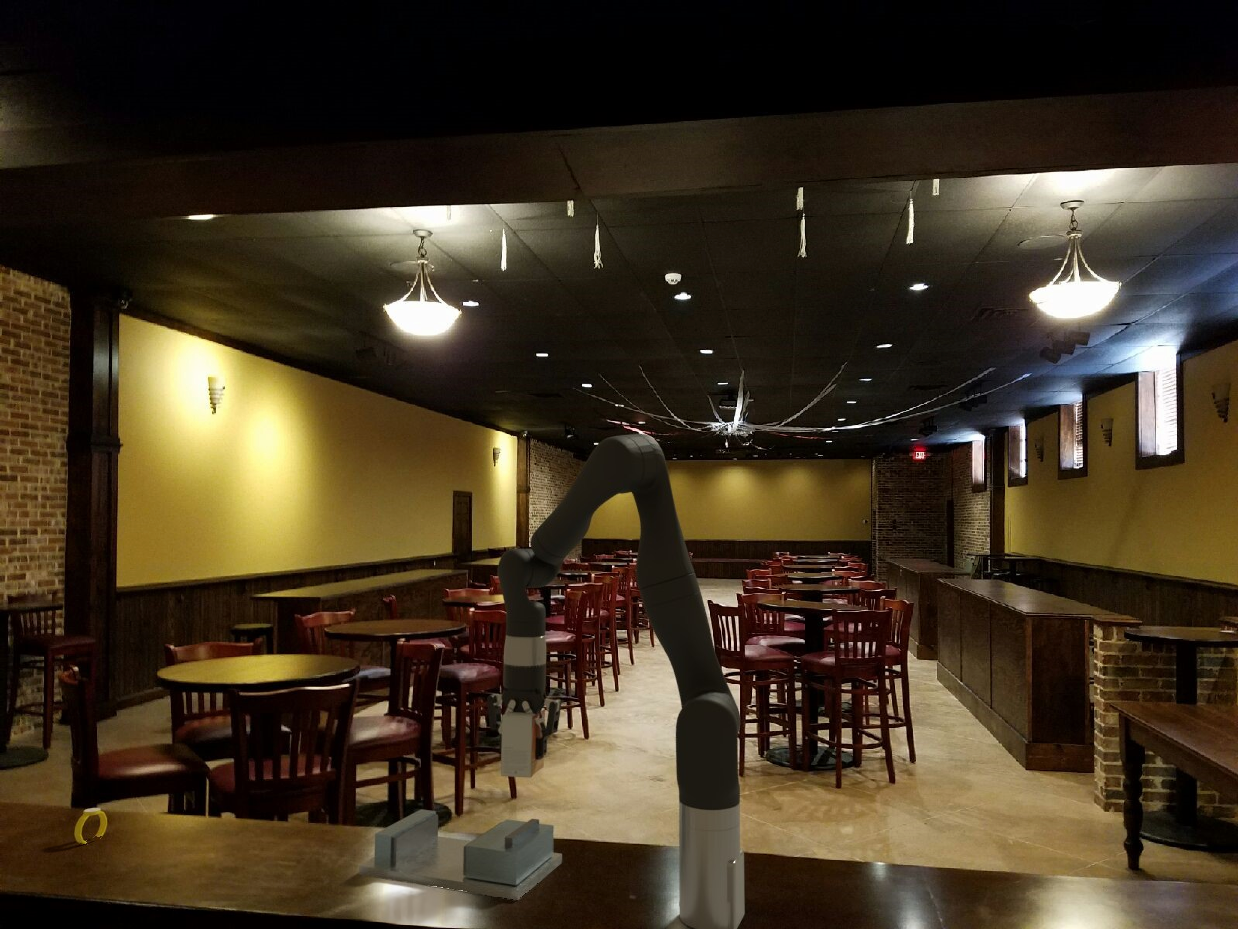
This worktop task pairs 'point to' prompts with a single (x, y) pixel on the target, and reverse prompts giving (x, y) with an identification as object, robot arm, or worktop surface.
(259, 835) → the worktop surface
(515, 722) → the small box
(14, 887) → the worktop surface
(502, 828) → the sliding jaw
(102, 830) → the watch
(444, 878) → the vise base
